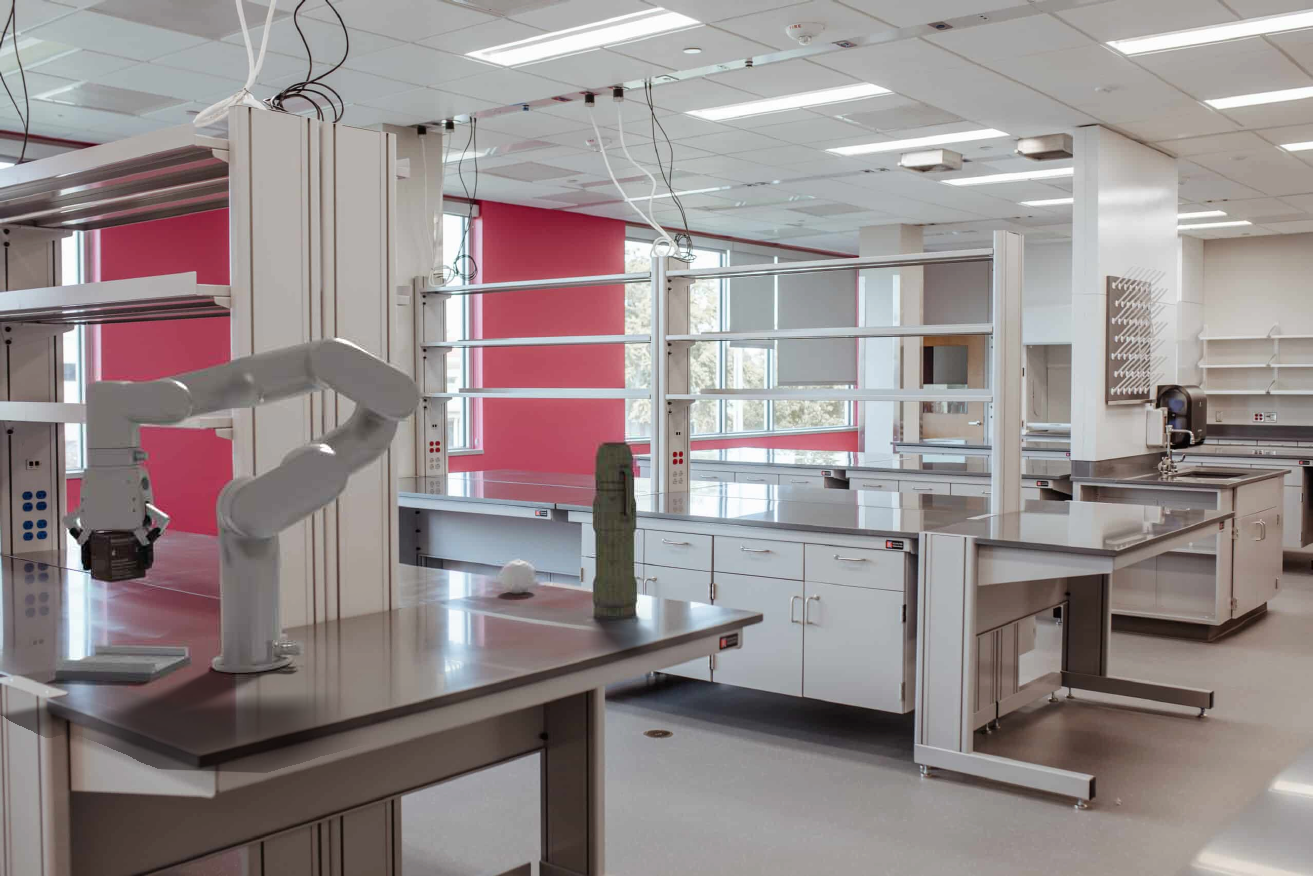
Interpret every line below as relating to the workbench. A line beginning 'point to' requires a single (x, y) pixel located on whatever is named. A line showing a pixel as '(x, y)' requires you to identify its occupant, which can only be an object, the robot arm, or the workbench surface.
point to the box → (114, 556)
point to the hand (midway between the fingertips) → (117, 568)
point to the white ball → (517, 576)
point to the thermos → (614, 533)
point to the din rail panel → (124, 663)
